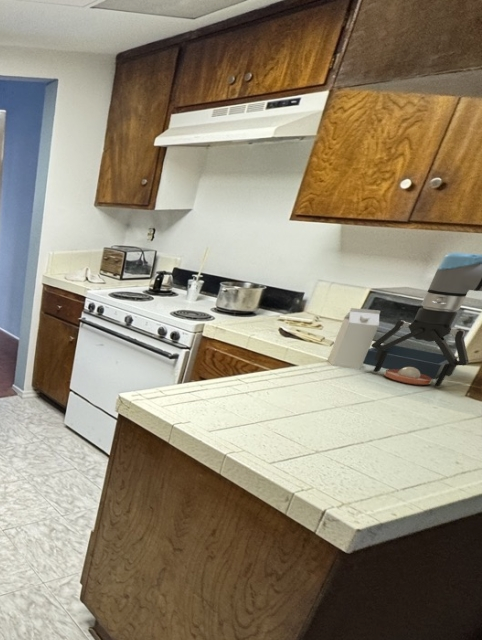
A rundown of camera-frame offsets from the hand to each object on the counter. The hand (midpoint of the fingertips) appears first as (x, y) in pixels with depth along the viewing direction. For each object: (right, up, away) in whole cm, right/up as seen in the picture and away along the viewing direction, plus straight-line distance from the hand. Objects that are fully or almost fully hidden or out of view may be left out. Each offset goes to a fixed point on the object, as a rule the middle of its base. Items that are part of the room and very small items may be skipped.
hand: (405, 378), depth 142 cm
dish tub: (+14, +4, +13) cm, 20 cm away
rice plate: (0, -1, 0) cm, 1 cm away
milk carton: (-5, +5, +15) cm, 16 cm away
